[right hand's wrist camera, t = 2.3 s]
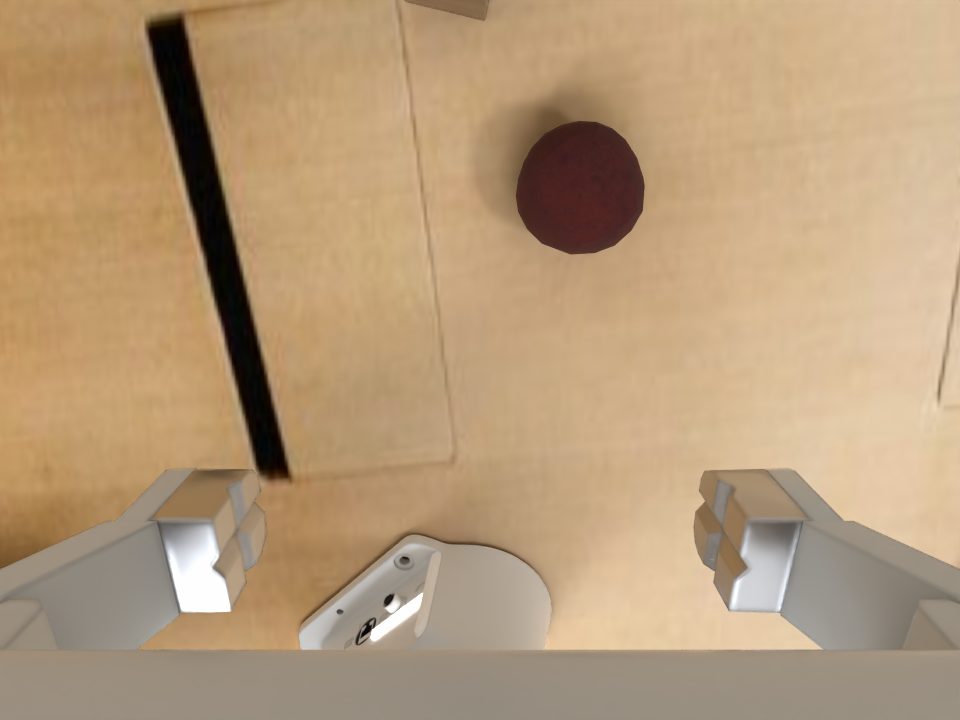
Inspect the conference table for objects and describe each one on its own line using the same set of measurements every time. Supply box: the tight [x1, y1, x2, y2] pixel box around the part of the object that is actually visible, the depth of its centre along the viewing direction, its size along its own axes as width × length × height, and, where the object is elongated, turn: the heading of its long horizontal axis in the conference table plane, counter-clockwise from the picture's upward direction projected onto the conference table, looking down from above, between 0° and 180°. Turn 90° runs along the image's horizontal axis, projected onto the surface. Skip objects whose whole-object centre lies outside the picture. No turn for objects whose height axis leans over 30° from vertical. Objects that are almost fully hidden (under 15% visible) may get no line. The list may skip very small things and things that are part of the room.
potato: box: [516, 121, 645, 254], centre depth 33 cm, size 7×8×7 cm
